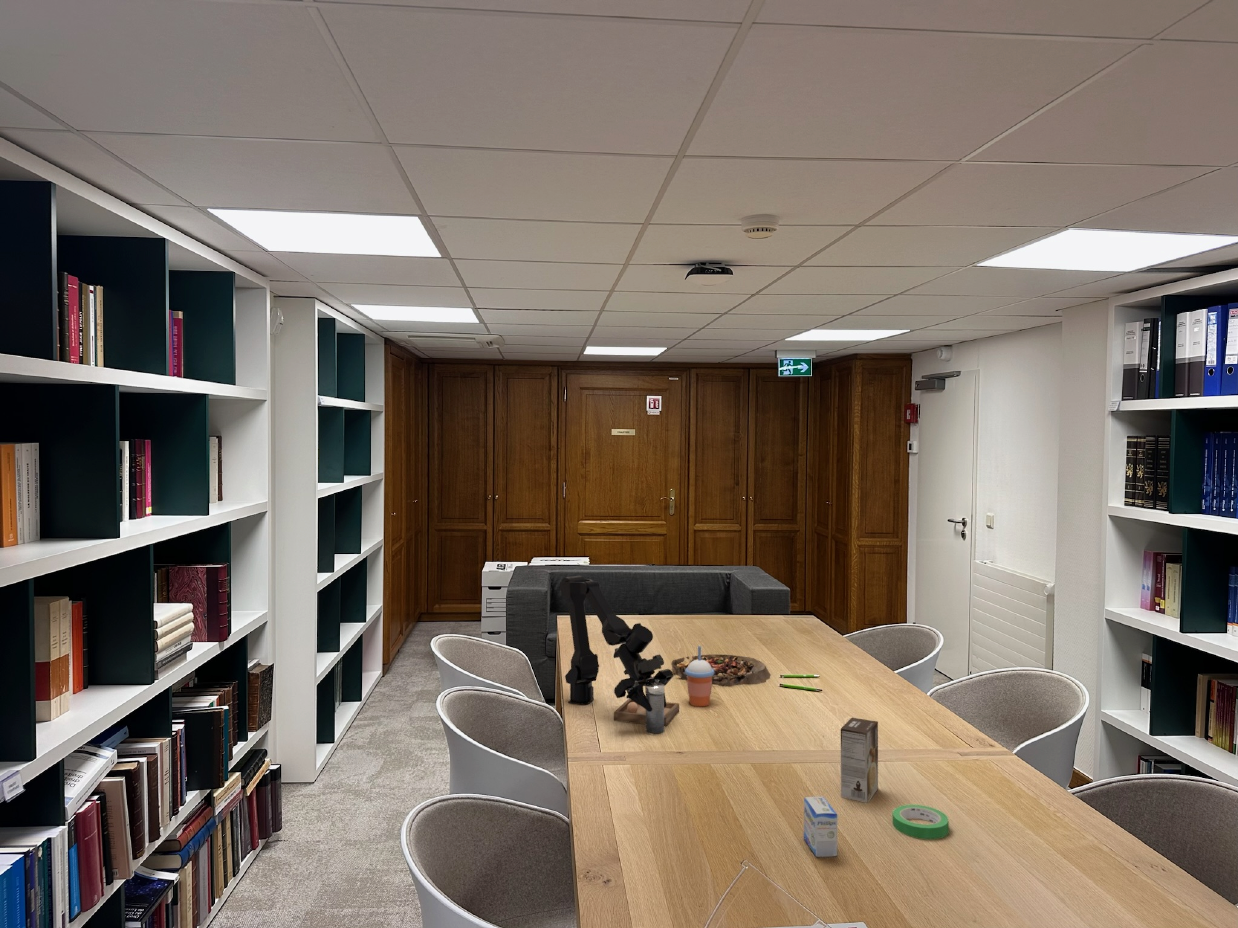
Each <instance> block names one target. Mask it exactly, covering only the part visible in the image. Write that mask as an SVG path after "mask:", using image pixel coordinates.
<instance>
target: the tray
mask: <svg viewBox="0 0 1238 928" xmlns="http://www.w3.org/2000/svg"><path fill="white" fill-rule="evenodd" d="M630 702H634V701H633V700H631V699H629V698H627V700H625V701H624V703H622V704H621V705H620V706H619V707H618V708H616V710H614V711H613V720H614V722H615V721H616V722H625V723H634V724H641V725H642V724H643V725H646V709H645V708H643V707H642V706H640V705H639V704H638V703H636V702H635V703H636V704H637V705H638V710H637V711H636V712H635V713H630V712H629V711H628V709H627V706H628V704H629V703H630ZM666 704H667V706H666V707H665V708H664V727H667V726H668V725H669V724H670V723H671V722H672V720H674V718H676V716H677V715H678V714H679V713H680V703H678V702H669V701H666Z"/></svg>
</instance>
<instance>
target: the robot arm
mask: <svg viewBox="0 0 1238 928" xmlns="http://www.w3.org/2000/svg"><path fill="white" fill-rule="evenodd" d="M559 589H560V593H561V597H562V599H563V600H564V602H565V603H566V604H567V606H568V611H569V612H568V613H569V618H570V627H571V633H572V634H571V635H572V642H573V649H574V650H573V654H572V657H571V659H570V668H569V670H568V672H567V673H565V676H564V679H565V682H566V684H569V694H570V695H569V697H570V698H569V699H568V702H567V703H568V704H575V705H583V706H584V705H585V706H586V705H589V704H590V703H591V702H593V700H595V697H594V686H593V682H596V680H597V678H598V674H599V670H600V669H599V668H600V664H599V657H598V654H597V653H594V652H593V651H592V650H591V648H590V647H591V646H590V641H589V640H590V639H589V631H588V624H587V616H586V609H585V602H586V599H587V601H588V603H589V604H590V607H591V608H592V610H593V612H594V613H595V615H596V616H597V618H598V620H599V622H600V624H601V633H602V636H603V638H604V640H605V643H607V645H609V646H619V647H616V648H614V653H613V659H617V658H619V660H620V662H621V663H622V665H623V668H624V669H625V670H624V671H623V673H624V675H626V676H627V675H628V677H627V678H624V679H620V681H619V682H618V683H617V684H616V685H615V687H614V689H613V690H614V691H613V692H614V695H615V697H616V698H617V699H620V698H624V697H625V698H626V699H631V700H633V701H634V702H636V703H638V704H639V705H640V706H642V707H643V708H645V709H646V710H647V711H649V712H651V711H652V708H651V706H650V704H649V702H648V700H647V698H646V693H645V691H644V687H645V685H646V684H647V683H662V684H664V687H666V686H667V684H668V683H669V682H670V681H671V680H672V679H673V678H674V676H675V675H674V673H673V671H672V669H669V668H666V669H665V668H664V669H662V666H663V665H664V664H665V661H664V658H663V657H662V655H661V653H659V654H655V655H653V656H652V658H650V659H647V658H643V657H642V656H641V653H643V652H644V651H645V650H646V648H647V647H648V646H649V645H650V643H651V642H652V641H653V638H654V635H653V632H652V631H651V630H650V629H649V628H648V627H646V626H643V625H642V624H641V623H640V622H637V623H634V624H633V626H632V627H630V626H629V624H628V623H626V621H625V620H624V619H623V618H621V617H619V616H617V614H616V613H615V612H614V609H613V608H612V607H611V605H610V603H609V602H608V600H607V598H606V597H605V595H604V593H603V592H602V590H601V588H600V585H599V582H598V581H596V580H592V579H589V578H585V577H584V576H582V575H576V576H567V577H563V578H562V580H561V581H560V583H559ZM656 670H658V671H657V672H656ZM655 673H656V674H655ZM652 675H654V676H652ZM666 702H667V699H666V693H665V692H664V708H665V707H666V706H667V704H666Z"/></svg>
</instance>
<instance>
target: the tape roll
mask: <svg viewBox="0 0 1238 928" xmlns="http://www.w3.org/2000/svg"><path fill="white" fill-rule="evenodd" d="M910 819H911V820H912V819H916V820H924V821H926V822H927V821H928V822H931V823H928V824H927V823H918V822H914V821H911V820H910ZM949 821H950V820H949V818H948V815H946V814H945V813H944V812H943V811H941V810H939V809H936V808H933V807H930V806H926V805H922V804H904V805H901V806H897V807H896V808H894V809H893V811H892V826H893V827H894V829H895V830H896V831H898V832H900V833H901V834H902V835H906V836H909V837H912V838H915V839H922V840H937V839H938V840H939V839H942V838H945V837H947V836H948V834H949V827H950V826H949V824H950V823H949Z"/></svg>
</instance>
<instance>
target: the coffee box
mask: <svg viewBox="0 0 1238 928" xmlns="http://www.w3.org/2000/svg"><path fill="white" fill-rule="evenodd" d="M878 732H879V721H875V720H869V719H864V718H863V719H862V718H858V717H857V718H856V717H851V718H849V719H848V721H846V723H845V724H844V725H842V727H841V728H840V797H841V798H844V799H849V800H853V801H858V802H862V803H866V804H867V803H869V801H870V800H871V798H872V797H873V796H874V795H875V793H876V792H877V791H878V789H879V733H878Z"/></svg>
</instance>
